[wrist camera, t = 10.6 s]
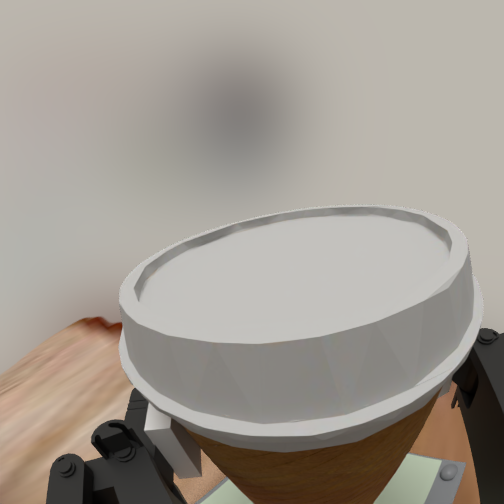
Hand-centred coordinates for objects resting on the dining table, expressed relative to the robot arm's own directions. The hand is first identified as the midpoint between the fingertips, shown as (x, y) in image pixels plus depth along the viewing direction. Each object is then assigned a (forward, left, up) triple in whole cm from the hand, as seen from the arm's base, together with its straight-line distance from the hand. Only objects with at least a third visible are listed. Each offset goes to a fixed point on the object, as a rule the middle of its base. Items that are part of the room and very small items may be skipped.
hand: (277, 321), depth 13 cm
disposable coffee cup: (+4, -3, -7) cm, 9 cm away
